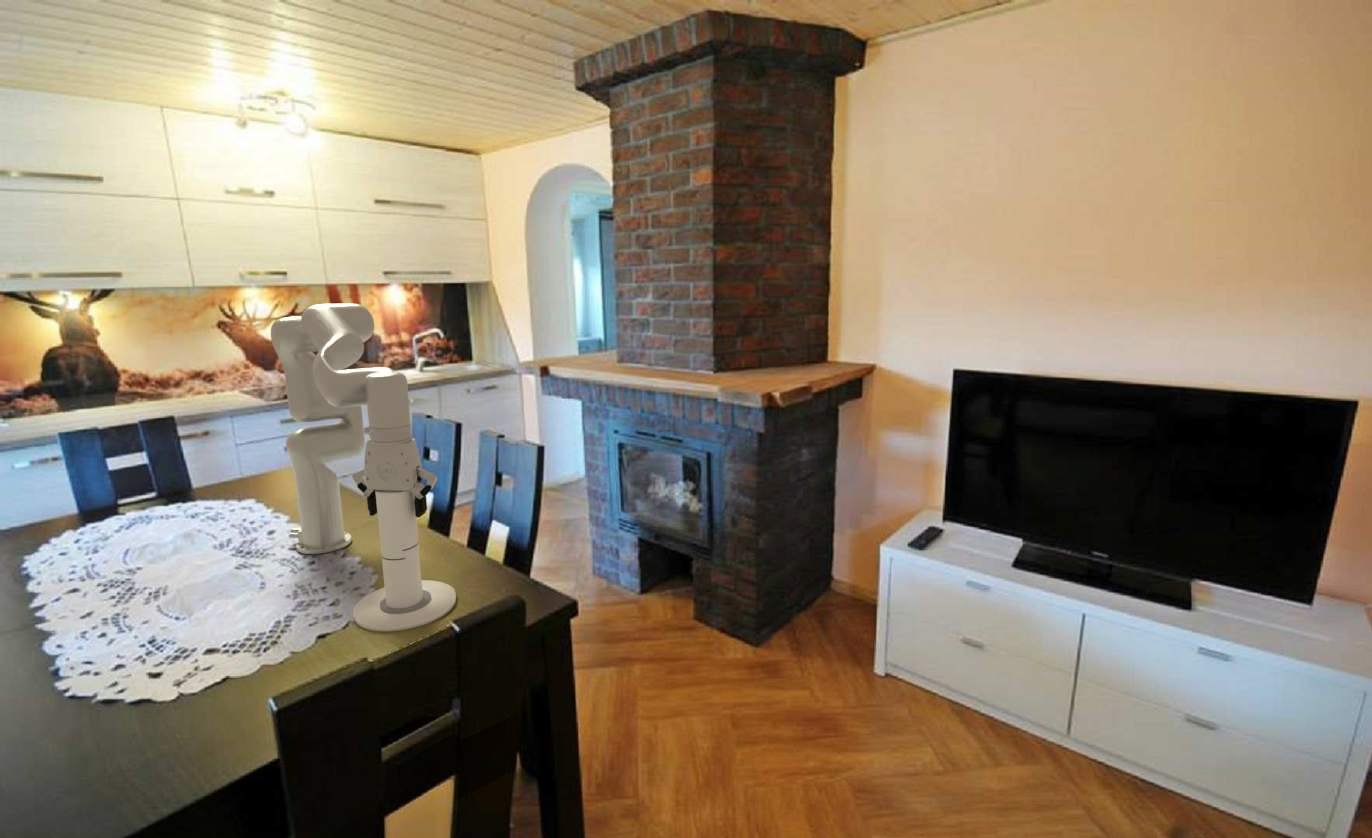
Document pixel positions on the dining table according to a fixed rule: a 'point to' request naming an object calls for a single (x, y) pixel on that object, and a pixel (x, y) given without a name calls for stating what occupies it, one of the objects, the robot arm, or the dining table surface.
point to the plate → (404, 609)
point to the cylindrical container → (399, 548)
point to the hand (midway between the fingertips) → (398, 514)
